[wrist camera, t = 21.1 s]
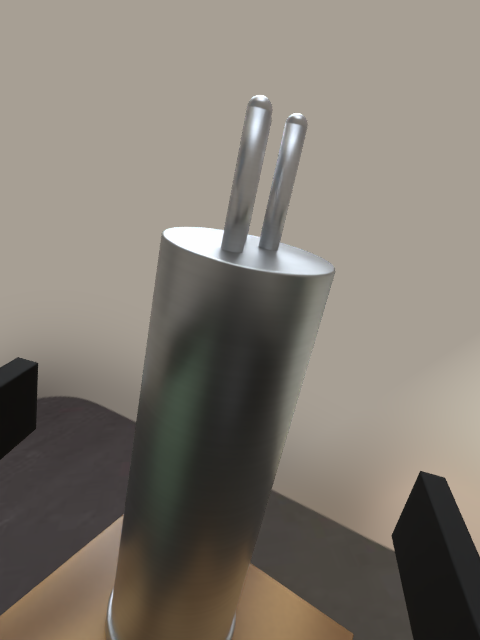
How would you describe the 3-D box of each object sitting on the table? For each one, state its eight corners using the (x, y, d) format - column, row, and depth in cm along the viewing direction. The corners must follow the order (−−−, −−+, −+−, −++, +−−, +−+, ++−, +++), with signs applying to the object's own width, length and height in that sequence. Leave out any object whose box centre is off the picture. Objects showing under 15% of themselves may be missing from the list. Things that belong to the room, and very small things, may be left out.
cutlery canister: (109, 713, 18) (209, 57, 9) (102, 570, 24) (159, 86, 15) (250, 671, 21) (433, 129, 12) (213, 551, 27) (316, 130, 18)
